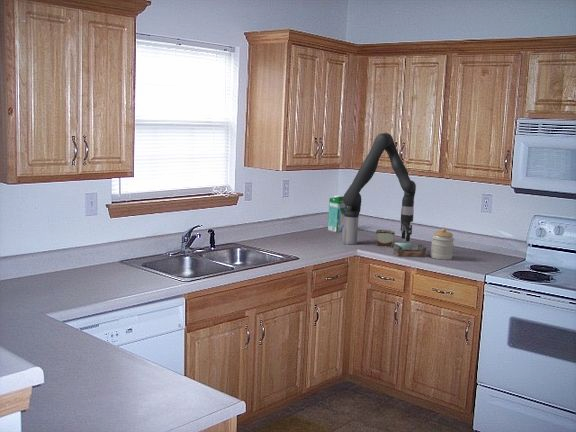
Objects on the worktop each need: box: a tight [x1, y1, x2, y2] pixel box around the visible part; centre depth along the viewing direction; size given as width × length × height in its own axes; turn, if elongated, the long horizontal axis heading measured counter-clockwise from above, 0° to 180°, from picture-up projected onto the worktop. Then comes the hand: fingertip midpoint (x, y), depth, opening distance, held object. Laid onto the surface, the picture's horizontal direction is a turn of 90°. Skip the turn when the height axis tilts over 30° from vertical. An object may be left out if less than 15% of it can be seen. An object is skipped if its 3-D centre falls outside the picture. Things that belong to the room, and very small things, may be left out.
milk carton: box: [327, 195, 348, 233], centre depth 464 cm, size 9×9×25 cm
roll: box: [394, 242, 413, 249], centre depth 409 cm, size 10×5×5 cm
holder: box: [392, 243, 427, 258], centre depth 397 cm, size 17×9×6 cm, turn 98°
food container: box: [374, 229, 396, 248], centre depth 421 cm, size 12×6×10 cm, turn 84°
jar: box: [430, 227, 455, 261], centre depth 394 cm, size 13×13×18 cm
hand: (405, 239), depth 406 cm, fingers open, 8 cm apart
